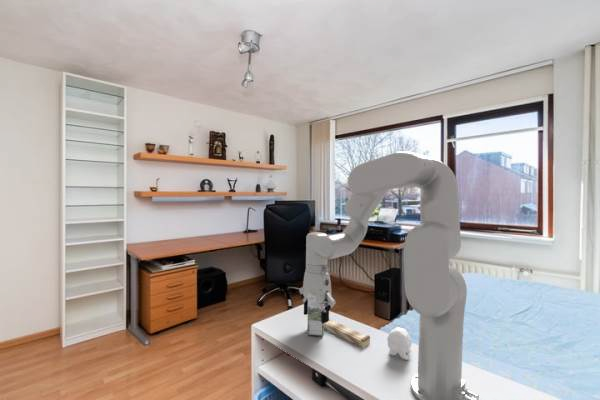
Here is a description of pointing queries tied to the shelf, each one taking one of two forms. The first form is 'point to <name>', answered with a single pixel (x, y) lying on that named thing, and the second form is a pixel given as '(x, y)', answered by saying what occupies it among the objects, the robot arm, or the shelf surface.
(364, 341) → the plank
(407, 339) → the white figurine
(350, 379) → the shelf surface
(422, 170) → the robot arm
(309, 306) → the syrup box
